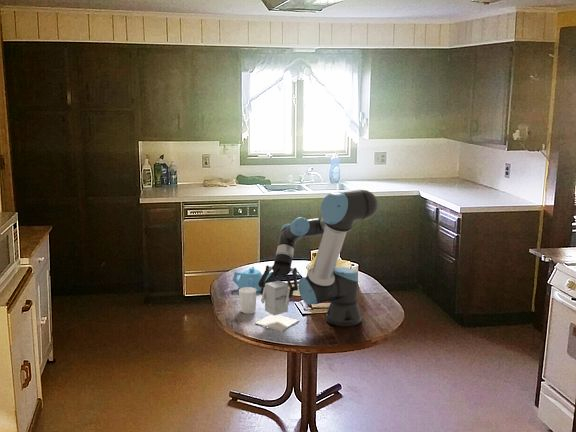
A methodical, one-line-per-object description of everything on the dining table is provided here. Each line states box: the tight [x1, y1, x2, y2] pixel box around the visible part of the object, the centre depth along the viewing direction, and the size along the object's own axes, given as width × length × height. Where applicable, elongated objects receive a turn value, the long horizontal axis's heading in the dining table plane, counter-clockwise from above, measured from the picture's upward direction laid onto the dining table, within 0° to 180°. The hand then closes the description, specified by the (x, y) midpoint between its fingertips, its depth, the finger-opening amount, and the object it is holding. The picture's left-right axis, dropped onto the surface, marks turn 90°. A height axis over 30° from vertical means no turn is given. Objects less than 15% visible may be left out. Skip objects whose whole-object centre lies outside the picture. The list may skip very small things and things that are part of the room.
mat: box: [254, 314, 300, 333], centre depth 266 cm, size 14×13×1 cm
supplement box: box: [264, 280, 289, 316], centre depth 264 cm, size 7×7×13 cm
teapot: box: [231, 266, 272, 293], centre depth 308 cm, size 15×15×11 cm
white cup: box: [238, 287, 257, 314], centre depth 279 cm, size 8×8×10 cm
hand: (274, 303), depth 262 cm, fingers closed on supplement box, 10 cm apart
